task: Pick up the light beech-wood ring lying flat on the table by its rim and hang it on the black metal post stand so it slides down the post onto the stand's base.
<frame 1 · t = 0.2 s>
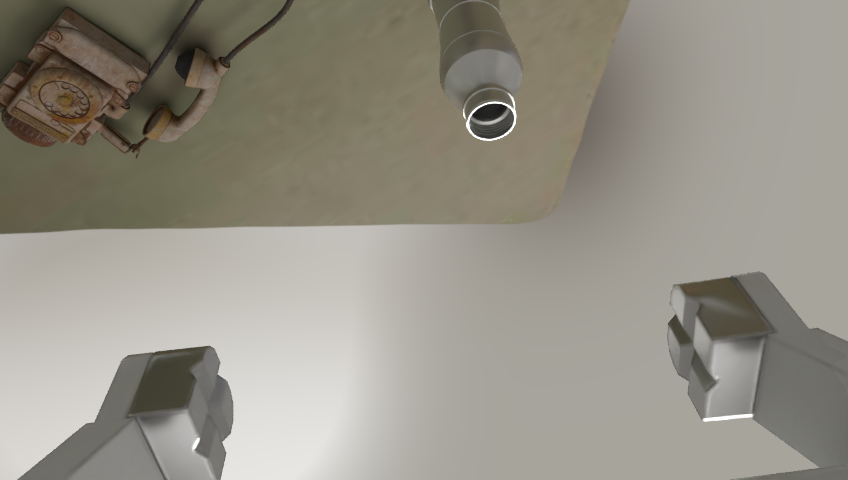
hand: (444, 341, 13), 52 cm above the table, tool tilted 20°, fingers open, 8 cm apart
telephone: (142, 54, 68), on the table
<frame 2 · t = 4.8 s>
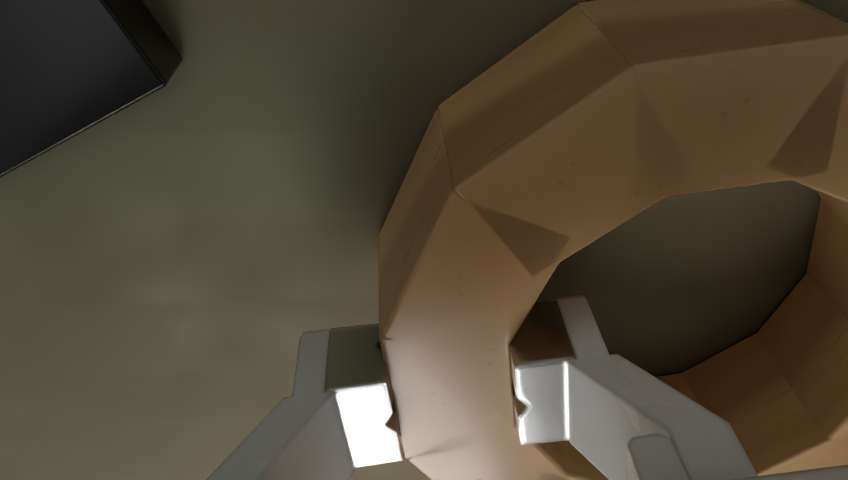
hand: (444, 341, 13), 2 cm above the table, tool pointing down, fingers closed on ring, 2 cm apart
ring: (649, 258, 14), on the table, touching gripper
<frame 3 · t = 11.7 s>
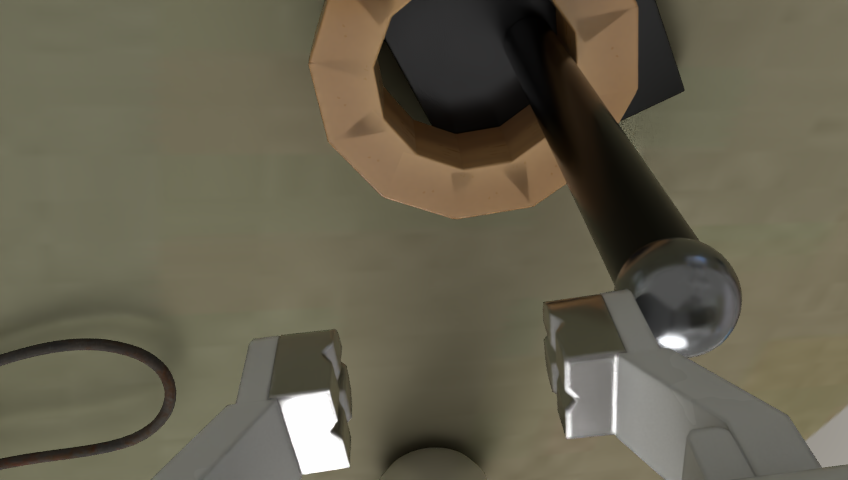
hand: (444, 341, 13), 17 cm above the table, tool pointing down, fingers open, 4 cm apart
plastic bottle: (429, 470, 40), on the table
ring: (467, 47, 26), point 1 cm above the table, touching stand
stand: (523, 32, 27), on the table
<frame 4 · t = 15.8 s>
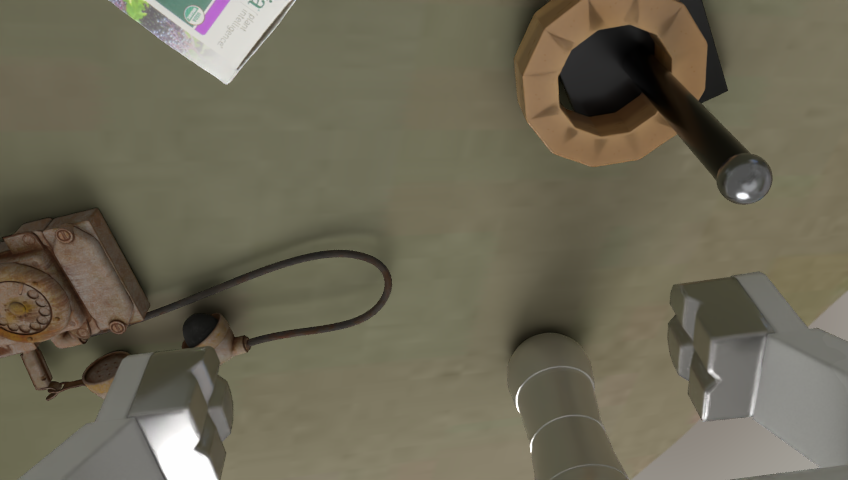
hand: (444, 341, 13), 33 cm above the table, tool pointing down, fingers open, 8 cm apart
plastic bottle: (542, 352, 58), on the table
telephone: (145, 291, 52), on the table
ring: (601, 65, 44), point 1 cm above the table, touching stand
stand: (631, 55, 45), on the table
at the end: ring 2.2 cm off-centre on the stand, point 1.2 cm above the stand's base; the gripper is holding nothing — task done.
